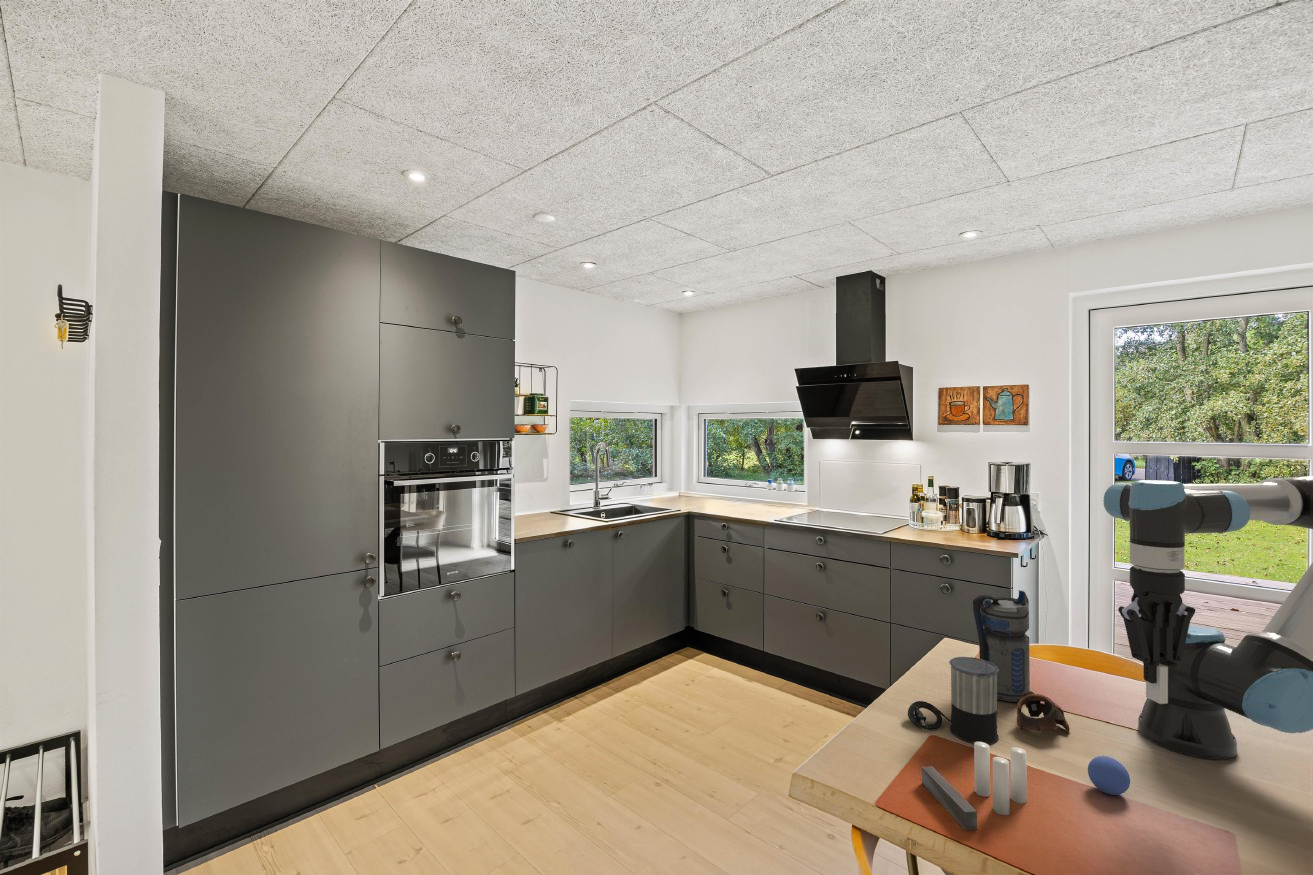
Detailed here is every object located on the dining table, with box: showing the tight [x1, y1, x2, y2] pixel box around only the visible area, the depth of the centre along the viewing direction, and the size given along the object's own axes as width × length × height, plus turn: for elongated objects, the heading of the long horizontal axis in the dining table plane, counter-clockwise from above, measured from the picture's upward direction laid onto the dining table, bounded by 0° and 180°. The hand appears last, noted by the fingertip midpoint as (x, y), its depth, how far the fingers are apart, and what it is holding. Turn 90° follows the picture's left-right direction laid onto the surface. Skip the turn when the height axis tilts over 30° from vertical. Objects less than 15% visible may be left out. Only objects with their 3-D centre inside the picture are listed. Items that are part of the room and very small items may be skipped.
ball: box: [1087, 755, 1131, 796], centre depth 106 cm, size 6×6×6 cm
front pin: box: [1009, 746, 1028, 805], centre depth 104 cm, size 2×2×8 cm
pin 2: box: [992, 756, 1011, 816], centre depth 101 cm, size 2×2×8 cm
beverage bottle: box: [972, 590, 1031, 703], centre depth 144 cm, size 10×13×25 cm
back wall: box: [921, 765, 978, 832], centre depth 103 cm, size 2×13×3 cm, turn 5°
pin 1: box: [973, 742, 991, 798], centre depth 106 cm, size 2×2×8 cm
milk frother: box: [907, 656, 999, 745], centre depth 128 cm, size 14×16×15 cm
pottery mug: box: [1016, 690, 1071, 734], centre depth 129 cm, size 12×10×8 cm
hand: (1156, 699), depth 106 cm, fingers closed
